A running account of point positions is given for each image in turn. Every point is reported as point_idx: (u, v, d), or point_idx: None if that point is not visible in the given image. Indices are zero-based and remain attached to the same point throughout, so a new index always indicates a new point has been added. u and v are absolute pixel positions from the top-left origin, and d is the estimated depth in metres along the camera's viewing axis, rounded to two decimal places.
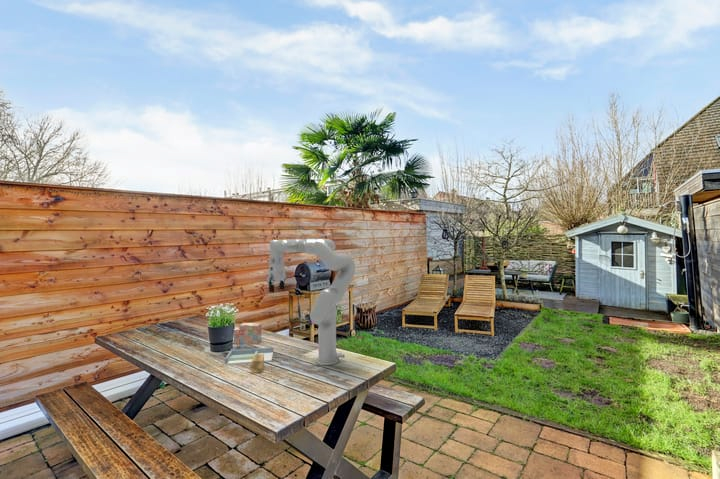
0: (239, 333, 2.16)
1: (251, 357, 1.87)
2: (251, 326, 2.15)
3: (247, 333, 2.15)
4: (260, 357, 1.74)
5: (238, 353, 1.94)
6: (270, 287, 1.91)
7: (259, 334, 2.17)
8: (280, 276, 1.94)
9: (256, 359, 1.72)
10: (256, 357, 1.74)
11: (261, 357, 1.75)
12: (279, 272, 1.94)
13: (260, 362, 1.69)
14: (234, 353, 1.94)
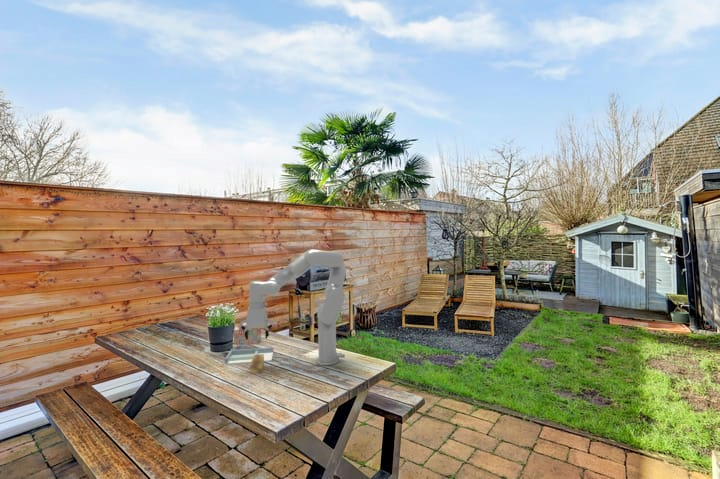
0: (239, 333, 2.16)
1: (251, 357, 1.87)
2: None
3: None
4: (260, 357, 1.74)
5: (238, 353, 1.94)
6: (268, 332, 1.75)
7: (259, 334, 2.17)
8: None
9: (256, 359, 1.72)
10: (256, 357, 1.74)
11: (261, 357, 1.75)
12: None
13: (260, 362, 1.69)
14: (234, 353, 1.94)
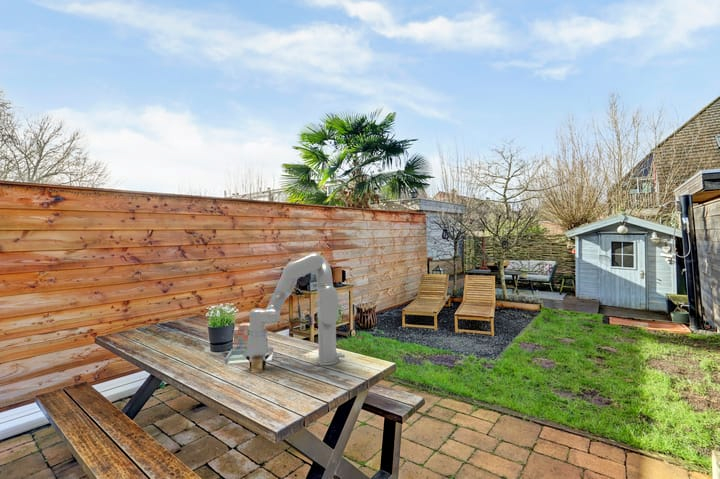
0: (238, 333, 2.16)
1: None
2: None
3: (247, 333, 2.15)
4: (260, 357, 1.74)
5: (238, 353, 1.94)
6: (265, 362, 1.75)
7: None
8: None
9: (256, 359, 1.72)
10: (256, 357, 1.74)
11: (261, 356, 1.75)
12: None
13: (260, 362, 1.69)
14: (234, 353, 1.94)
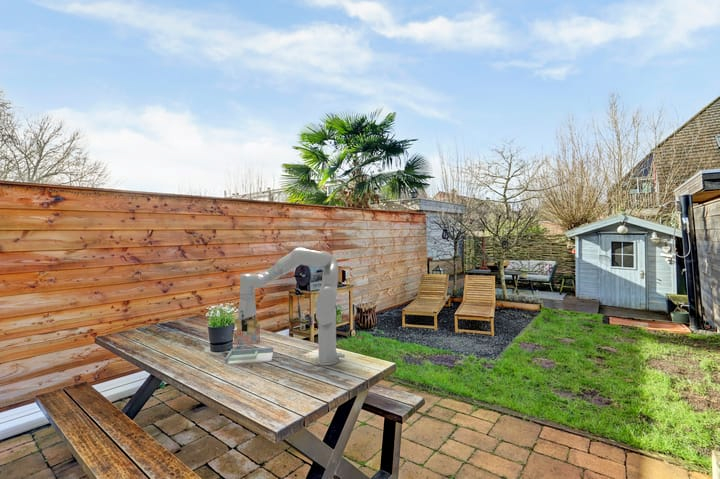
0: (238, 333, 2.16)
1: (251, 357, 1.87)
2: None
3: (246, 333, 2.15)
4: (250, 318, 1.85)
5: (238, 353, 1.94)
6: None
7: (258, 334, 2.17)
8: None
9: (251, 319, 1.83)
10: (247, 319, 1.83)
11: (249, 318, 1.86)
12: None
13: (257, 320, 1.84)
14: (234, 353, 1.94)
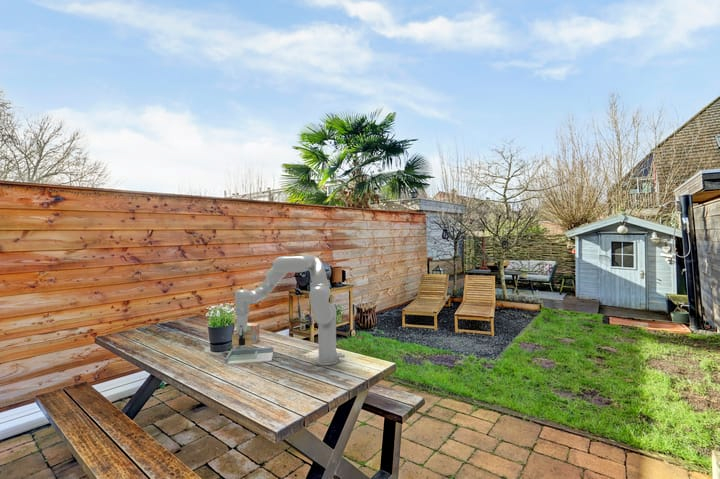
0: None
1: (251, 357, 1.87)
2: (249, 326, 2.15)
3: None
4: None
5: (238, 353, 1.94)
6: None
7: (257, 334, 2.17)
8: None
9: (246, 333, 1.91)
10: None
11: None
12: None
13: None
14: (234, 353, 1.94)
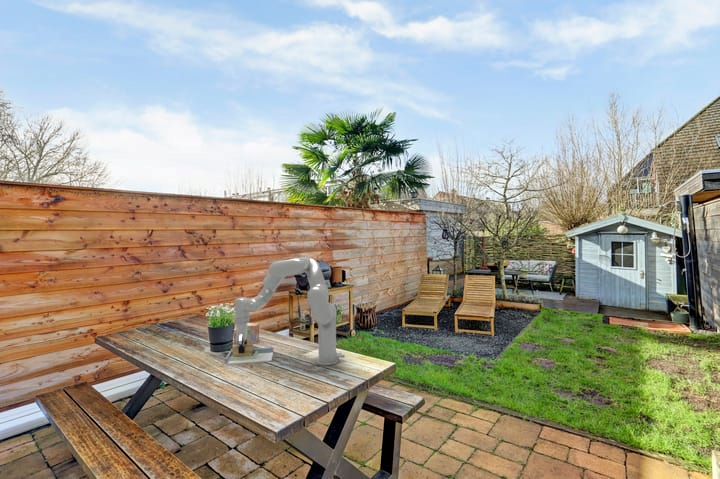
0: None
1: (251, 357, 1.87)
2: (249, 326, 2.15)
3: None
4: (244, 345, 1.92)
5: None
6: None
7: (257, 334, 2.17)
8: None
9: (247, 345, 1.91)
10: None
11: None
12: None
13: (252, 345, 1.93)
14: None
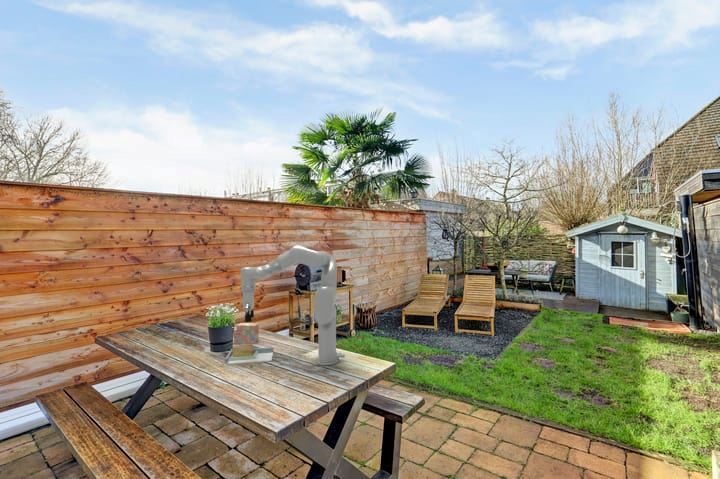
0: (237, 333, 2.15)
1: (251, 357, 1.87)
2: (248, 326, 2.15)
3: (245, 333, 2.15)
4: (244, 345, 1.92)
5: None
6: None
7: (256, 334, 2.17)
8: None
9: (247, 345, 1.91)
10: (243, 346, 1.90)
11: (242, 345, 1.92)
12: None
13: (252, 345, 1.93)
14: None
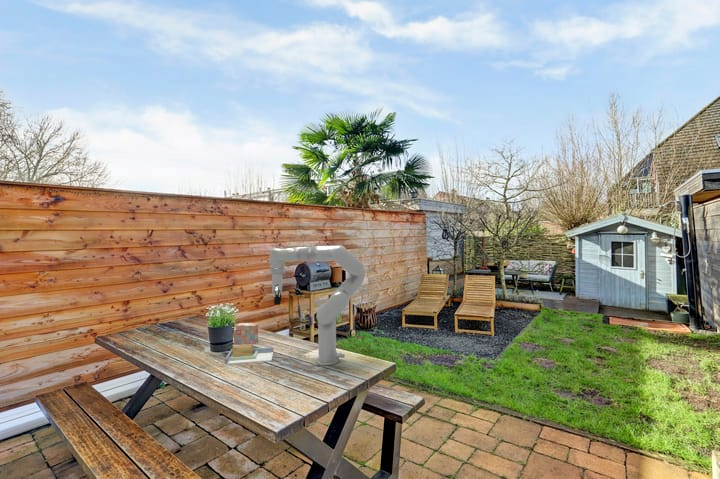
0: (236, 333, 2.15)
1: (251, 357, 1.87)
2: (248, 326, 2.15)
3: (244, 333, 2.15)
4: (244, 345, 1.92)
5: None
6: None
7: (256, 334, 2.18)
8: None
9: (247, 345, 1.91)
10: (243, 346, 1.90)
11: (242, 345, 1.92)
12: None
13: (252, 345, 1.93)
14: None
